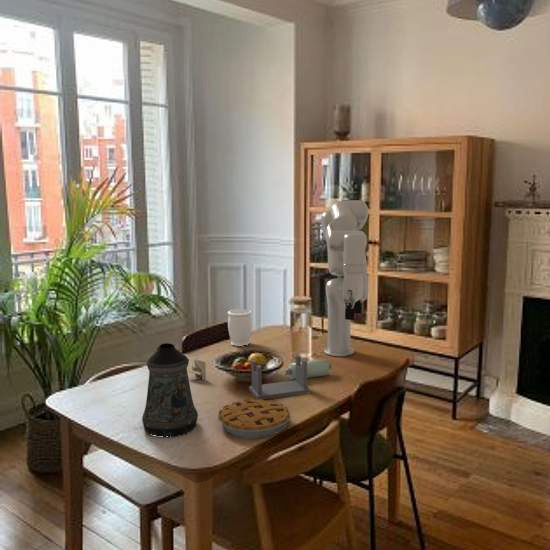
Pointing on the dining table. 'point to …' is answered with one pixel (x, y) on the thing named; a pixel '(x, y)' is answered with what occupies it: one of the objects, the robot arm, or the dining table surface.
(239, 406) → the pie
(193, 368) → the architectural model
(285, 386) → the roll holder
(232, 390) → the dining table surface
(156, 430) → the beer stein
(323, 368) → the roll
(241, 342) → the jar
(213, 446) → the dining table surface
